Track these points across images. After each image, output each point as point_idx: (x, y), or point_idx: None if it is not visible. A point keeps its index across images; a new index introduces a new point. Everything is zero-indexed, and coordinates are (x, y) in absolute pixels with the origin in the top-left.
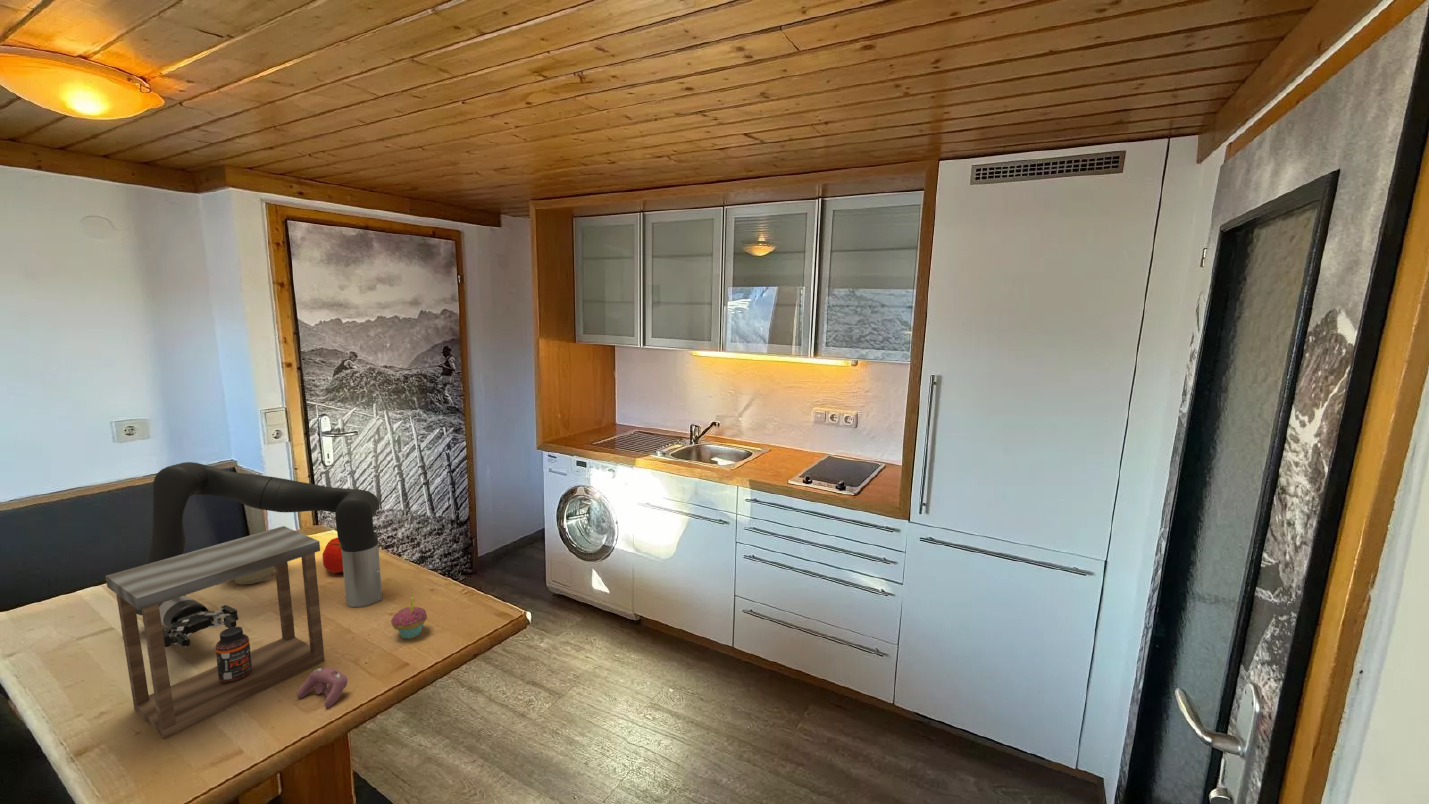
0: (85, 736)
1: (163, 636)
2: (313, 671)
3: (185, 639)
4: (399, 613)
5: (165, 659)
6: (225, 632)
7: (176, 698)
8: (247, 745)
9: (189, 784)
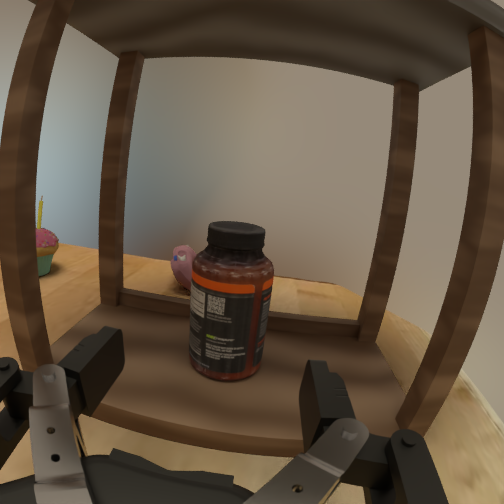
0: (473, 424)
1: (419, 448)
2: (186, 259)
3: (323, 360)
4: (37, 234)
5: (385, 198)
6: (250, 228)
7: (345, 384)
8: (291, 292)
9: (346, 293)
